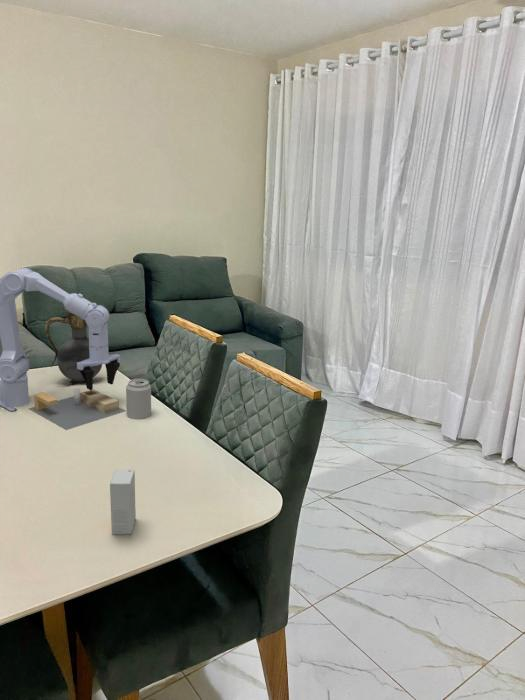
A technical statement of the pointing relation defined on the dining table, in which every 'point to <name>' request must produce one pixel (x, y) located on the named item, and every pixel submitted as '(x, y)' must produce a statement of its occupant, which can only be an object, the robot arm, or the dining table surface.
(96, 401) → the oak link
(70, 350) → the pitcher
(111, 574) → the dining table surface
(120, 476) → the skincare box
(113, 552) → the dining table surface
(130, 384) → the can
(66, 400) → the slate board
